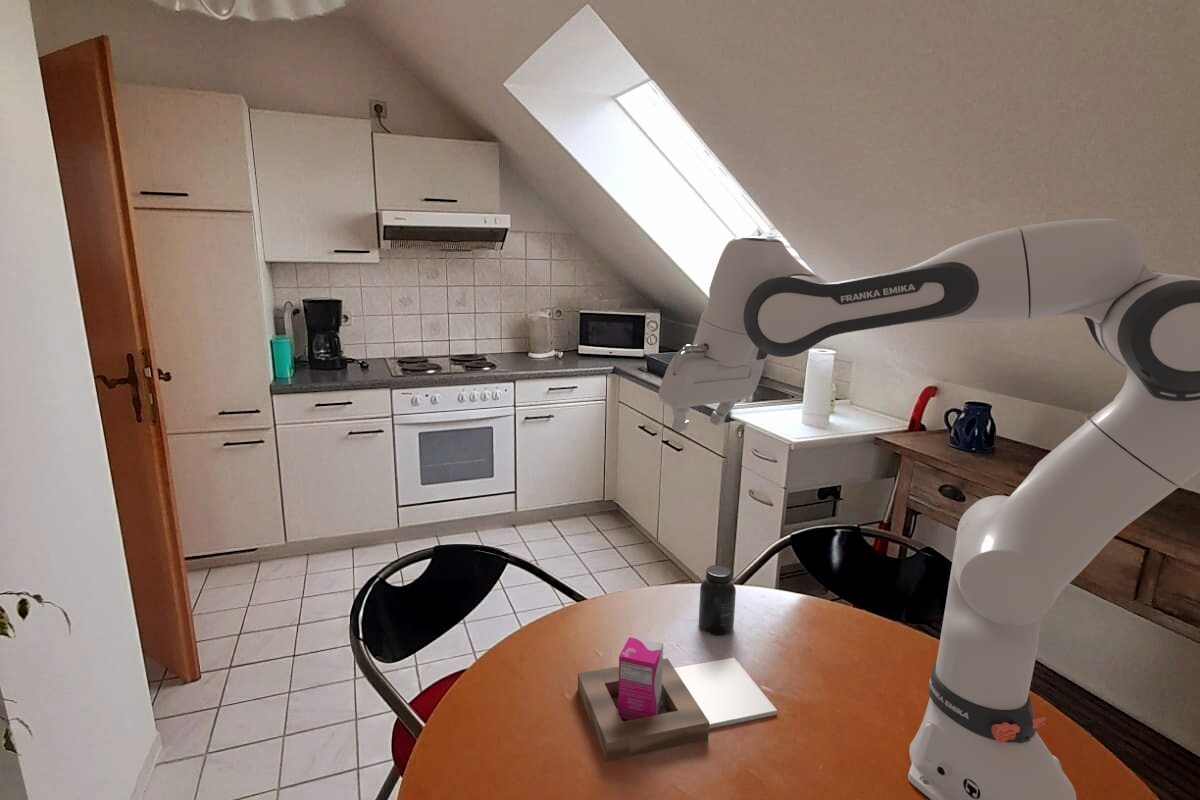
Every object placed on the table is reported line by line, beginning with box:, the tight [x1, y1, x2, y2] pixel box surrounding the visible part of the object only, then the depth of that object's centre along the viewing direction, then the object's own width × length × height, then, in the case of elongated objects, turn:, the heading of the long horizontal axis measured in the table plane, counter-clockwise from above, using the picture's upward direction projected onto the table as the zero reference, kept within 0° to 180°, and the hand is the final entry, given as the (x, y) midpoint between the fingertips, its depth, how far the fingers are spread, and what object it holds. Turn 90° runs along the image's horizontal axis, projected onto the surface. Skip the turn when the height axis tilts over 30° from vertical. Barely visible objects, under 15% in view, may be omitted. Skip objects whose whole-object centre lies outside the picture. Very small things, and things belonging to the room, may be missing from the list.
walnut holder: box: [577, 657, 710, 762], centre depth 100 cm, size 16×16×3 cm
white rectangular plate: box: [674, 657, 778, 730], centre depth 105 cm, size 14×12×1 cm
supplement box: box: [617, 636, 664, 722], centre depth 99 cm, size 6×6×12 cm
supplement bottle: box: [698, 564, 737, 636], centre depth 123 cm, size 7×7×12 cm
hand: (697, 426), depth 99 cm, fingers open, 8 cm apart
